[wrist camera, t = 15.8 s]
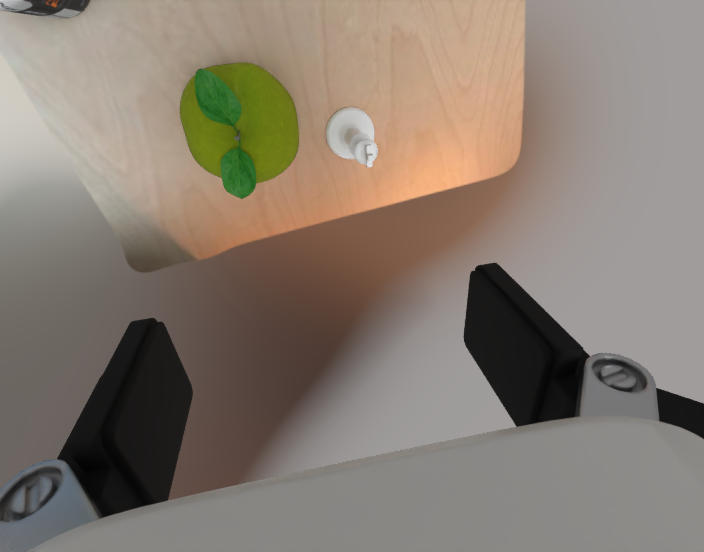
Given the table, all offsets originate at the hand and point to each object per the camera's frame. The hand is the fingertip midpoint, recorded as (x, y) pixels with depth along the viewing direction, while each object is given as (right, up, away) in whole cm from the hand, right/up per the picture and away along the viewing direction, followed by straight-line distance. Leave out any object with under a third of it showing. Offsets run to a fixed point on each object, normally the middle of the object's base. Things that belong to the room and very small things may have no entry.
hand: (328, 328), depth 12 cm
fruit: (-9, +17, +24) cm, 31 cm away
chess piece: (0, +16, +27) cm, 31 cm away
